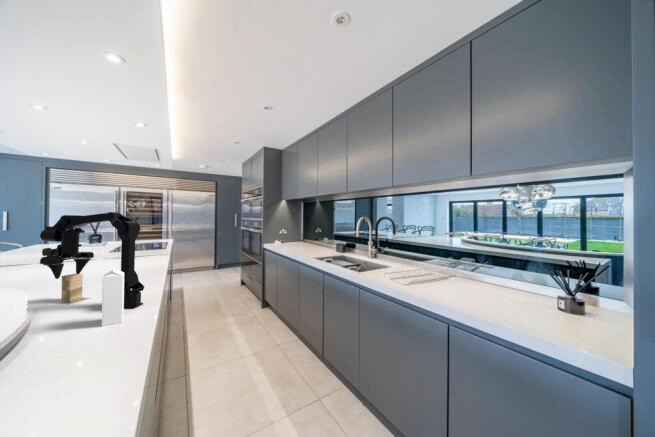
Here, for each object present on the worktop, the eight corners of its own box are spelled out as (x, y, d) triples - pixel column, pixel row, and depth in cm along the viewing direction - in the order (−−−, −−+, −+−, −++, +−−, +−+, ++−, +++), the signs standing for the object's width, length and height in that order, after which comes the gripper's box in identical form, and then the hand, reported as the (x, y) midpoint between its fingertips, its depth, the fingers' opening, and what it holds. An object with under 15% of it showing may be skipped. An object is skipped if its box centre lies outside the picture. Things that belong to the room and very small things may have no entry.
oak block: (82, 299, 118) (82, 274, 118) (69, 302, 113) (70, 276, 113) (74, 298, 119) (74, 273, 119) (61, 301, 114) (61, 275, 114)
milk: (101, 326, 90) (101, 268, 90) (104, 321, 95) (104, 266, 95) (122, 322, 94) (123, 267, 94) (124, 317, 98) (124, 264, 98)
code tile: (90, 299, 120) (90, 298, 120) (68, 305, 111) (68, 304, 111) (74, 298, 121) (74, 296, 121) (51, 304, 112) (51, 303, 112)
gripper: (72, 239, 118) (69, 271, 118) (27, 243, 99) (24, 280, 99) (95, 240, 118) (93, 272, 118) (55, 244, 100) (52, 281, 100)
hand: (67, 276), depth 109 cm, fingers open, 9 cm apart
